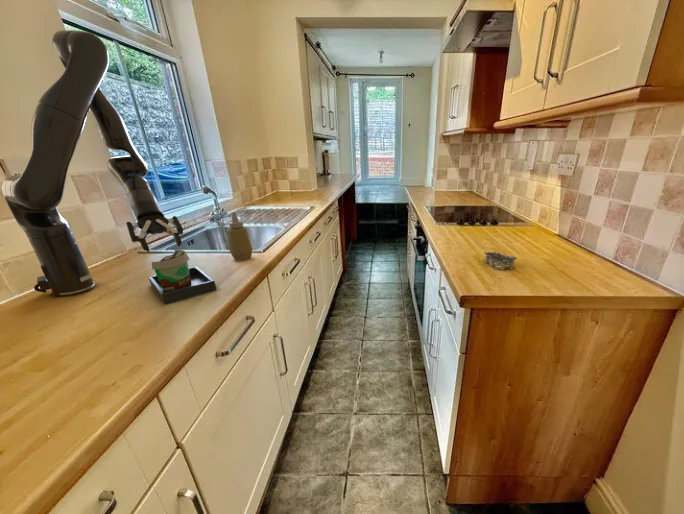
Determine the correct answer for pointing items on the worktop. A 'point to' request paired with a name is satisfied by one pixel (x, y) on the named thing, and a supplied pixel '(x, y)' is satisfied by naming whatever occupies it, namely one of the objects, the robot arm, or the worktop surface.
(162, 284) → the food container
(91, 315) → the worktop surface
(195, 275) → the tray
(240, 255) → the squeeze bottle
